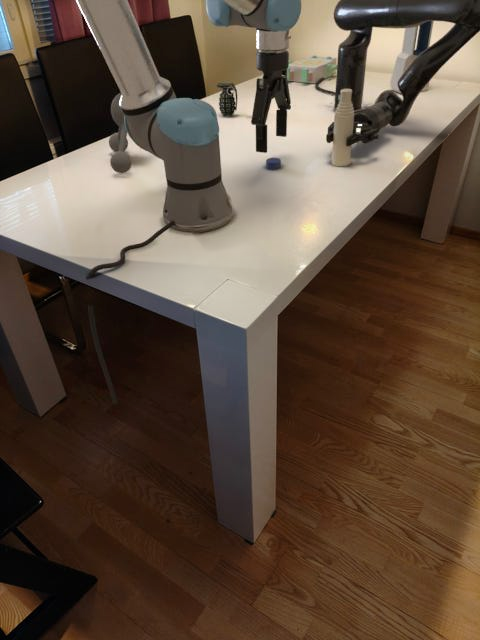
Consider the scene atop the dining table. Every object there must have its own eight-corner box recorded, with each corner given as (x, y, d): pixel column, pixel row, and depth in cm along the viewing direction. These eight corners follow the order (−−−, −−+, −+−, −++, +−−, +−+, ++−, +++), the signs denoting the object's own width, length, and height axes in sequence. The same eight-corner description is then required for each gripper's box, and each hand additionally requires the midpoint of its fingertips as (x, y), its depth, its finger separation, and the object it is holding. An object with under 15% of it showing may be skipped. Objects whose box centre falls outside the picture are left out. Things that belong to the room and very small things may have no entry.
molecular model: (195, 164, 133) (181, 39, 115) (114, 179, 127) (87, 50, 109) (172, 140, 150) (157, 28, 132) (101, 152, 145) (75, 37, 126)
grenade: (217, 117, 168) (214, 86, 162) (221, 112, 172) (219, 82, 166) (235, 117, 166) (233, 86, 160) (239, 113, 171) (238, 82, 165)
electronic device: (398, 94, 180) (412, -3, 162) (388, 89, 186) (400, -5, 168) (428, 90, 183) (445, -6, 164) (417, 86, 188) (432, -7, 170)
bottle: (333, 159, 132) (337, 87, 121) (351, 160, 130) (357, 87, 119) (330, 165, 128) (334, 92, 117) (348, 166, 127) (355, 92, 116)
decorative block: (304, 53, 218) (345, 56, 208) (304, 69, 222) (344, 73, 212) (273, 65, 202) (316, 68, 192) (273, 81, 206) (315, 86, 196)
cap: (263, 168, 129) (263, 162, 128) (269, 163, 131) (269, 157, 130) (277, 170, 127) (277, 163, 126) (283, 165, 130) (283, 158, 129)
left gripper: (267, 60, 102) (266, 161, 115) (305, 42, 120) (301, 131, 133) (235, 59, 105) (238, 157, 118) (277, 41, 123) (275, 128, 136)
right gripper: (344, 105, 135) (313, 121, 125) (393, 111, 128) (365, 129, 118) (342, 133, 140) (312, 150, 129) (389, 140, 133) (362, 160, 122)
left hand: (271, 143), depth 125 cm, fingers open, 13 cm apart
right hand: (337, 140), depth 124 cm, fingers closed on bottle, 5 cm apart
